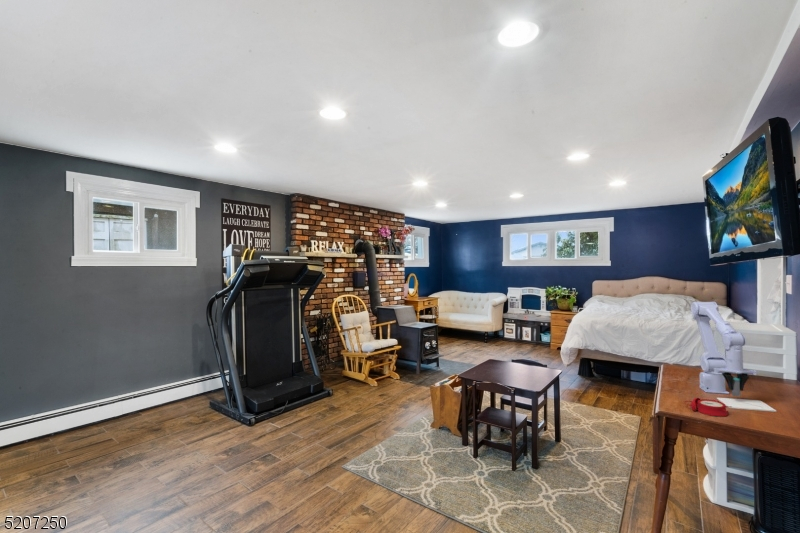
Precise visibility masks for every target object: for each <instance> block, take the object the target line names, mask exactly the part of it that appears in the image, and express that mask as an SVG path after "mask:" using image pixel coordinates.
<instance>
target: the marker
mask: <svg viewBox="0 0 800 533" xmlns="http://www.w3.org/2000/svg"><path fill="white" fill-rule="evenodd" d="M732 376H733V375H732ZM730 392H731V396H734V397H741V395H742V394H741V390H740V378H739V377H737V376H733V390H730Z"/></svg>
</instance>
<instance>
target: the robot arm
mask: <svg viewBox="0 0 800 533" xmlns="http://www.w3.org/2000/svg"><path fill="white" fill-rule="evenodd" d="M690 312H691V316H692V319H693V320H695V321H696V323H697V324H696V325H697V327H698V331H699V335H700V340H701V342H702V345H703V349H704V353H703V354H702V355H701V356H700V357H699V359H700V367H701V369H702V371H703V372H702V371H700V372H699V375H698V376H699V389H701V390H702V391H703V392H705V393H709V394H710V393H714V394H727V395H729V394H730V392H729V391H728V390H727V389H726V383H727V387H728V389H729V390H730V391H731V390H733V375H736V377H739V378H740V392H743V391H744V388H745V384H746V382H747V381H748V380H749V379H750V375H752V376H757V370H755V369H750V368H749V369H747V368H744V355H743V354H744V353H743V350H744V349H743V347H744V346H745V345H746V343H747V340H746V337H745V334H743V333H742V332H739V331H736V329H735V328H734V327H733V325H732V324H731V323H730V322H729V321H726V320H724V318H723V317H722V315H721V314H720V310H719V305H718V303H717V302H716V301H693V302H692V303H691V305H690ZM711 321H712V322H713V323H714V324H715V325H714V326H715V330H716V331H717V332H718V333H719V334H720V336H721V337H722V338H721V339H722V340H721V342H722V343H723V348H724V350H725V355H724V354H722V353H720V352H719V350H718V346H717V342H716V341H715V336H714V333H713V331H712V330H713V329H712V326H711V323H710V322H711ZM732 374H733V375H732Z"/></svg>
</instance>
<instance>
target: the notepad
mask: <svg viewBox="0 0 800 533" xmlns="http://www.w3.org/2000/svg"><path fill="white" fill-rule="evenodd" d="M716 399H717V401H719V402H722V403H724V404H725V406H731V407H727V408H728V409H737V410H750V411H751V410H752V411H761V412H763V411H764V412H773V413H774V412H775V413H777V410H776V409H774V408H773V407H772V406H770V405H768V404H767V403H765V402H764V401H761V400H758V399H744V398H743V399H742V398H731V397H730V398H728V397H716Z"/></svg>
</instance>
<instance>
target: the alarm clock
mask: <svg viewBox="0 0 800 533" xmlns="http://www.w3.org/2000/svg"><path fill="white" fill-rule="evenodd" d="M687 402H690V403H689V404H688V403H687ZM684 404H685V405H687V406H690V409H691V410H692V411H693V412H699V413H700V414H703V415H707V416H712V417H720V418H721V417H727V416H730V414H729V410H727V408H728V407H731V406H726V405H725V404H724V403H722V402H721V401H719V400H716V399H715V400H714V399H709V398H708V399H707V398H705V399H704V398H702V399H701V398H699V397H695V398H693V400H686V401H684Z"/></svg>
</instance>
